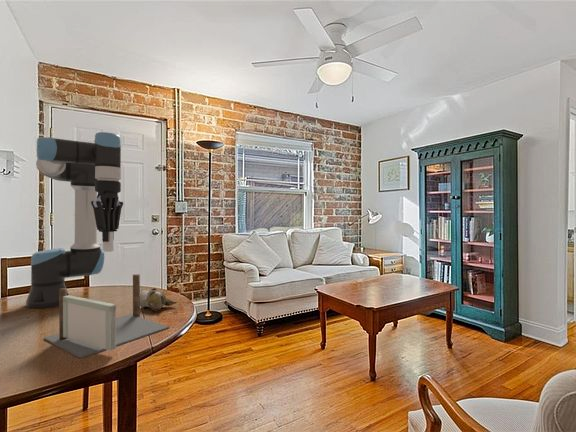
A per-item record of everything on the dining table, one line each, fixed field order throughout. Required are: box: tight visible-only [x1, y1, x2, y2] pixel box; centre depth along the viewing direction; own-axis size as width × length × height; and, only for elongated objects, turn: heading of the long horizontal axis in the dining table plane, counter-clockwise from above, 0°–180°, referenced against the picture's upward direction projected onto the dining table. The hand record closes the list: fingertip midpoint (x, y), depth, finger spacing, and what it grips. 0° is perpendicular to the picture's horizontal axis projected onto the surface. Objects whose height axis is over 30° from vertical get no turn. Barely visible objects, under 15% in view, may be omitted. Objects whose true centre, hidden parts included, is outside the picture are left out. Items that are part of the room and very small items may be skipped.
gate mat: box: [43, 313, 170, 359], centre depth 106 cm, size 24×28×1 cm
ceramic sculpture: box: [140, 287, 178, 312], centre depth 134 cm, size 11×9×15 cm
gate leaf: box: [63, 294, 117, 351], centre depth 95 cm, size 22×2×12 cm, turn 64°
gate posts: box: [58, 273, 141, 340], centre depth 112 cm, size 2×28×16 cm, turn 152°
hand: (108, 251), depth 108 cm, fingers closed
